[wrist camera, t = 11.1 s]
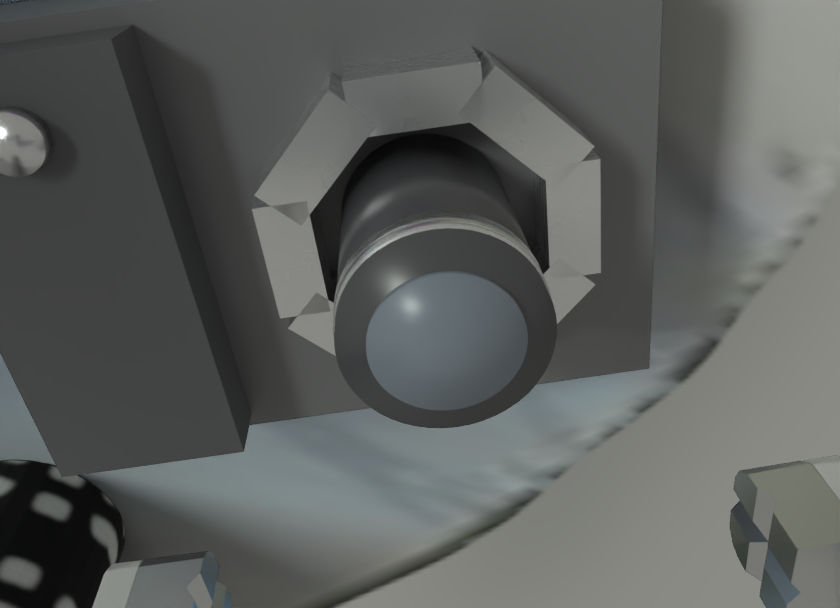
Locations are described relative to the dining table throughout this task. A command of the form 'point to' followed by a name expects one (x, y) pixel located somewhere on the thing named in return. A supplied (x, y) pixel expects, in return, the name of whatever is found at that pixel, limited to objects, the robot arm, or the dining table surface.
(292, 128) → the camera body
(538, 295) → the lens
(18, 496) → the spotted tube
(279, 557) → the dining table surface
